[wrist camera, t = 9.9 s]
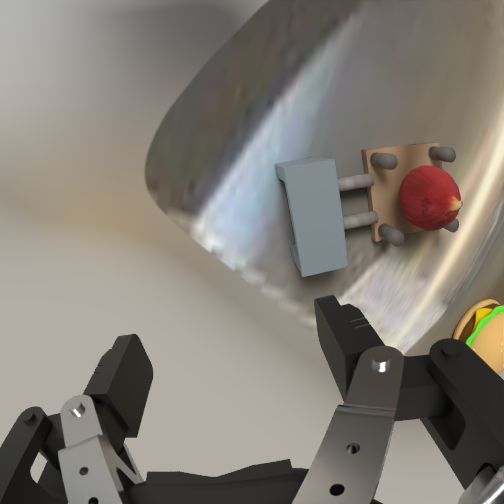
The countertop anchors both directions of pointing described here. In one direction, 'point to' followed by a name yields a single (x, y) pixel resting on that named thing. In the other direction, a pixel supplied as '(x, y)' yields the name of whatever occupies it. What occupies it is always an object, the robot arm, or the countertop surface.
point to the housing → (315, 214)
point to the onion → (429, 198)
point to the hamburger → (484, 332)
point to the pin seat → (391, 188)
